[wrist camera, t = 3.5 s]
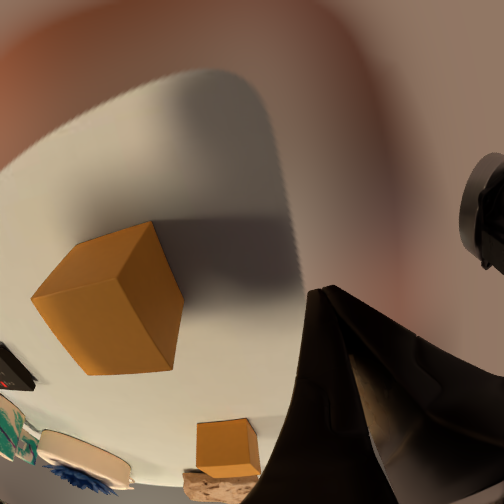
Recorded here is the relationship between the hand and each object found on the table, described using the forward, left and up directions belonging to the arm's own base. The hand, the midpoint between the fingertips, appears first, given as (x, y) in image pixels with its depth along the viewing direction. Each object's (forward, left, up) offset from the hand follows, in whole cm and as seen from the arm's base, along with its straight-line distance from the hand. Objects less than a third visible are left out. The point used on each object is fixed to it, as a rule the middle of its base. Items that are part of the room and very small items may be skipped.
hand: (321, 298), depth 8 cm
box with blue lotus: (+44, +17, -5) cm, 47 cm away
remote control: (+37, -6, -5) cm, 38 cm away
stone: (+26, +29, -5) cm, 39 cm away
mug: (+46, +2, -5) cm, 46 cm away
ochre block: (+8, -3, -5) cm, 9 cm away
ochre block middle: (+14, +14, -5) cm, 20 cm away
